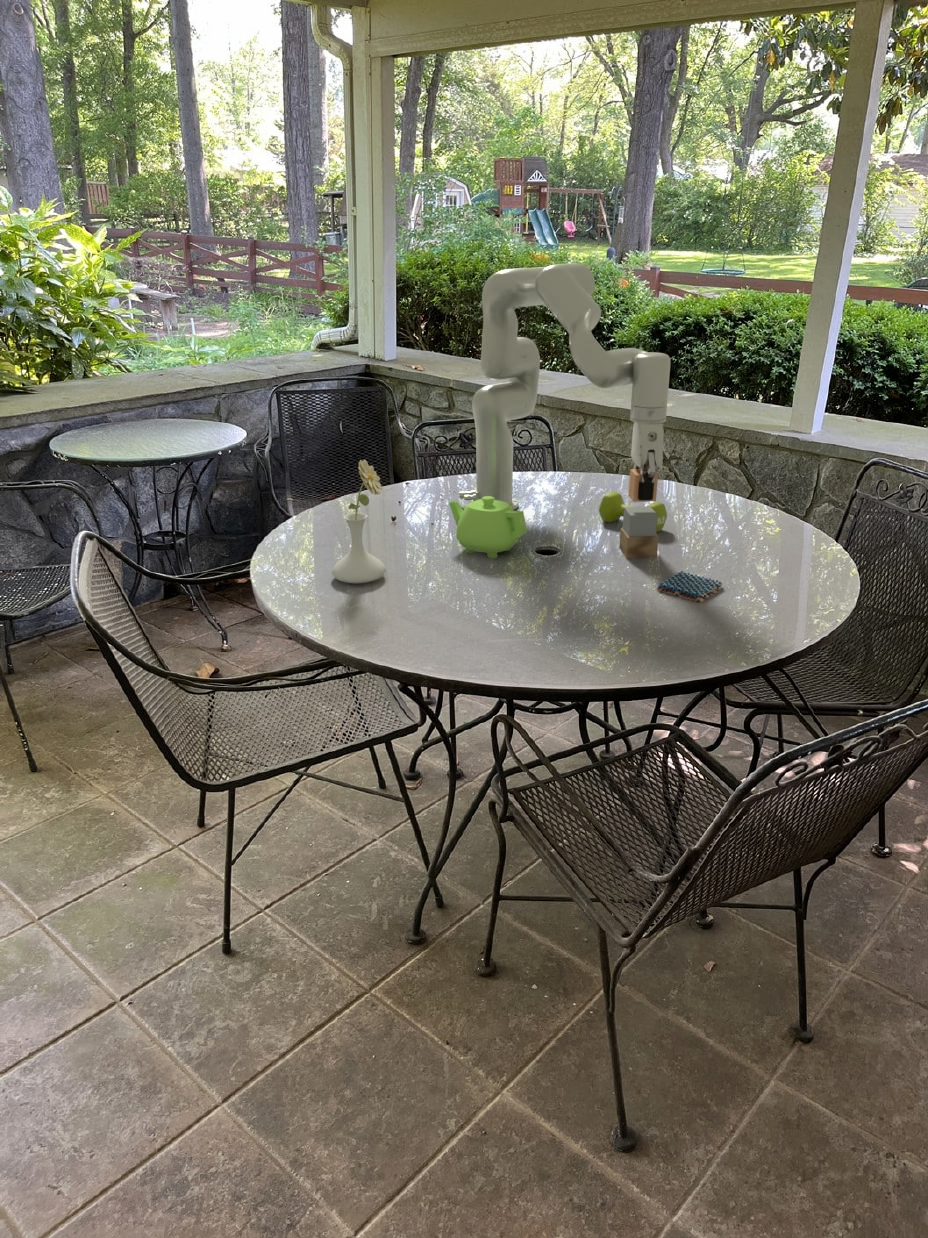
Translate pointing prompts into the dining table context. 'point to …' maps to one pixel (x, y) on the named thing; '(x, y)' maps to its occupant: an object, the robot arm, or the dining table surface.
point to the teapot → (488, 525)
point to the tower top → (639, 521)
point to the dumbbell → (615, 505)
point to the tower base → (638, 546)
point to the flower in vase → (360, 537)
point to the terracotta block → (634, 485)
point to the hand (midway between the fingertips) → (642, 495)
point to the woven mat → (690, 586)
